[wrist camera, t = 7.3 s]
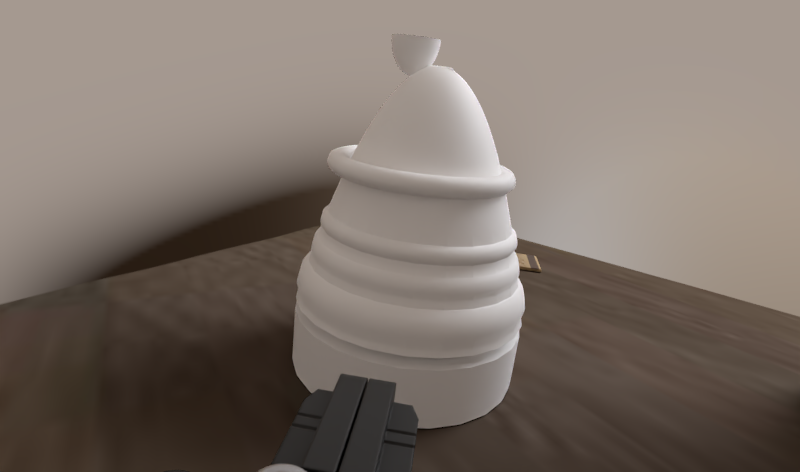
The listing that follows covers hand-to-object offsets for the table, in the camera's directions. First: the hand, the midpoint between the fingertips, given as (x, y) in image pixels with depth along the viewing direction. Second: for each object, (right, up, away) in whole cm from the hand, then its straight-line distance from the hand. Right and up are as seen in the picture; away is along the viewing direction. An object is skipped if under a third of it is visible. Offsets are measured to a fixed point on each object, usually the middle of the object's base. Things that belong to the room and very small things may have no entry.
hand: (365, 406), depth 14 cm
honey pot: (+1, -3, +17) cm, 17 cm away
